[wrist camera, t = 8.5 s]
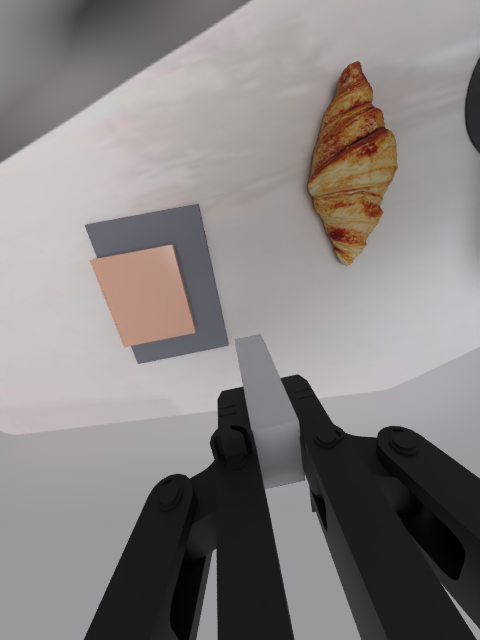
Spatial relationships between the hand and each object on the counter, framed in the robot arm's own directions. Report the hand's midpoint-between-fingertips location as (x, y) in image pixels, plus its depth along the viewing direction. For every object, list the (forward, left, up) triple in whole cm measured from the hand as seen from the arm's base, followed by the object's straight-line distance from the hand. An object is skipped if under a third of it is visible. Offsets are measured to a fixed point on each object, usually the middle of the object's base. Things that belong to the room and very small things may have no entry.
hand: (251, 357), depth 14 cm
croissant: (-16, -10, -23) cm, 30 cm away
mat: (+9, 0, -22) cm, 24 cm away
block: (+6, 0, -21) cm, 21 cm away
